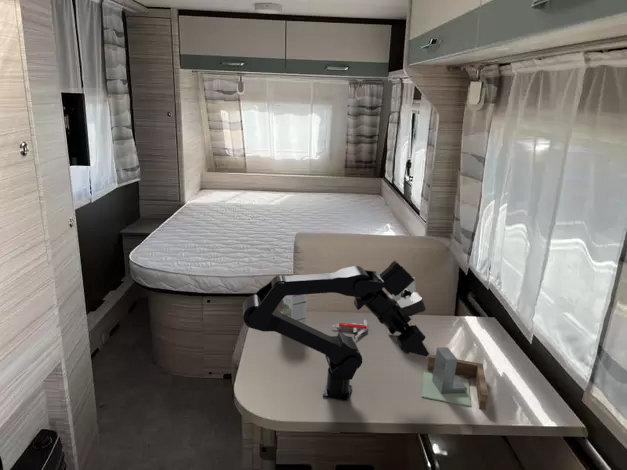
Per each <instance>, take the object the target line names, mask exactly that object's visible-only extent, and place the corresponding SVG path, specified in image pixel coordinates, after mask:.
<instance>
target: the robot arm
mask: <svg viewBox="0 0 627 470" xmlns="http://www.w3.org/2000/svg"><path fill="white" fill-rule="evenodd" d="M412 277H413V276H412V275H411V274H410V273H409V272H408V271H407V270H406V269H405V268H404V267H403V266H402V265H400V264H399V263H398V262H397V261H396V260H393V261H392V262H391V263H390V264H389V266H388V267H386V268H385V269H384V270H383V271H382V272H381V273H380V274H379V273H378V272H377V271H374V270H368V269H366V270H365V269H364V268H363V267H362V266H359V265H353V266H348V267H343V268H340V269H338V270H335V272H331V273H330V272H329V273H315V274H313V273H312V274H298V275H276V276H274V277H273V278H272V279H271V280H270V281H269V282H268V283H267V284H265V285H264V286H262V287H260V288H259V289H258V290H257V291H256V292H255V293H254V294H252V295H249V296H248V297H246V299H245V300H243V303H242V312H243V313H242V314H243V316H242V319H243V322H244V324H245V326H247V327H248V328H249V329H253V330H255V331H256V330H257V331H260V332H268V333H269V332H275V333H277V334H280V335H281V336H283V337H286V338H288V339H290V340H293V341H295V342H297V343H299V344H301V345H303V346H305V347H308V348H310V349H312V350H314V351H317V352H318V353H320V354H323V355H325V358H326V362H327V365H328V368H327V378H326V385H325V387H324V390H323V392H322V396H323V397H325V398H329V399H335V400H339V401H345V402H348V401H349V398H350V396H351V393H352V389H353V386H352V385H351V384H350V382H351V380H352V379H353V378H354V376H355V374H356V372H357V370H358V369H359V368H360V367H361V366H362V364H363V356H362V354H361V351H360V350H359V348H358V346H357V344H356V342H355V341H354V338H353V337H352V336H348V335H345V334H344V333H343V332H342V331H338V333H337V334H336V335H334V336H331V335H328V334H326V333H324V332H322V331H320V330H318V329H316V328H314V327H312V326H309V325H307V324H306V325H305V324H303V323H301V322H299V321H297V320H295V319H293V318H291V317H289V316H286V315H284V314H282V312H281V311H280V310H279V309H278V306H279V305H280V303H281V302H282V301H283V298H284V297H285V296H289V295H304V294H307V295H313V294H314V295H318V294H329V293H331V294H333V293H334V294H339V295H343V296H345V297H354V300H353V305H354V306H355V309H356V310H357V311H359V310H361V309H362V308H363V307H366V308H367V309H368V310H369V311H370V312H371V313H372V314H373V315H374V316H375V318H377V320H378V322H379V323H380V325H384V326H385V328H386V327H387V328H388V330H389V332H390V333H391V334H392V335H391V336H394V335H393V334H394V333H395V332H396V331H397V332H400V333H401V334H400V335H399V336H397V337H396V344H397V345H398V347H399V349H400V350H401V351H402V352H403V353H404V354H405V355H409V354H413V355H414V354H415V355H418V356H422V357H429V355H430V352H429V351H428V350H427V348H426V346H425V344H424V340H425V339H426V336H425V334H424V332H423V331H422V330H421V329H420V328H419V327H418V326H417V324H414V325H413V324H412V325H411V326H409V324H408V322H409V321H410V320H411V318H410V317H409V316H413V317H414V315H417V314H419V313H423V312H425V311H426V310H427V308H426V305H425V303H424V300H423V297H422V296H421V295H420V294H419V293H418V292H416V293H415V292H414V291H413V293H411V292H410V291H409V290H408V289H407V287H408V286H409V285H410V284H411V283H412V282H413V281H415V282H416V279H415V280H414V279H413V278H412ZM383 289H385V291H384V290H383ZM386 291H387V292H386ZM387 293H388V294H387ZM400 293H401V297H400V300H398V301H395V300H394V299H392V298H390V297H389V294H390V295H393V294H394V295H395V296H397V295H399V294H400Z"/></svg>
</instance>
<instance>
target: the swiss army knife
mask: <svg viewBox="0 0 627 470" xmlns="http://www.w3.org/2000/svg"><path fill="white" fill-rule="evenodd" d="M331 327H333V328H337V330H339V331H341V332H342V331H344V332H352V333H357V334H356V335H355V336H354V338H355V339H356V338H357V337H359V336H360V335H362V334H363V333H367V331H368V321H367V319H364V320H363V323H359V324H358V322H352V323H342V322H339V323H337V324H336V325H334V324H333V325H332V326H331Z"/></svg>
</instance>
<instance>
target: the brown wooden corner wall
mask: <svg viewBox="0 0 627 470" xmlns="http://www.w3.org/2000/svg"><path fill="white" fill-rule="evenodd" d="M435 357H436V354H429V355H428V360H427V367H426V370H427V371H432V372H433V371H434V364H435ZM455 375H458V377H460V376H461V377H467V378H472V379H475V388H476V394H477V396H476V397H477V402H478V409H481V410H486V408H487V402H488V397H489V393H488V387H487V386H488V385H487V381H486V375H485V369H484V364H483V363H480V362H475V361H470V360H463V359H458V358H457V365H456V371H455Z"/></svg>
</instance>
